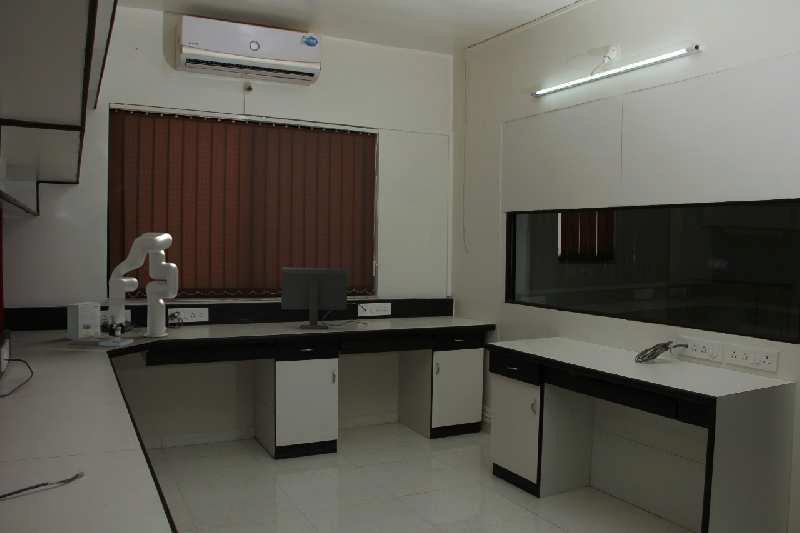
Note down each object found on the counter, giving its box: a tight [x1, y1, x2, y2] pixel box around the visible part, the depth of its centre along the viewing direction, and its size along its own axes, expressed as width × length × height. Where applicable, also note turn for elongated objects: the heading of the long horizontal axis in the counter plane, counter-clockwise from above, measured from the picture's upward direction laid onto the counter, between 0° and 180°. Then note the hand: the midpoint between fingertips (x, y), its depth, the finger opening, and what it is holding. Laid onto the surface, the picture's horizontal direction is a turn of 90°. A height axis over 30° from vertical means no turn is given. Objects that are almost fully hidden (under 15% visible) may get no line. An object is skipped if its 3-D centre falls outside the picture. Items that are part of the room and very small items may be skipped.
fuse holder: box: [70, 334, 113, 346], centre depth 326 cm, size 16×15×4 cm
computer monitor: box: [280, 266, 349, 330], centre depth 417 cm, size 44×16×40 cm, turn 94°
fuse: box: [83, 325, 91, 339], centre depth 326 cm, size 4×4×9 cm
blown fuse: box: [112, 326, 122, 343], centre depth 323 cm, size 4×4×9 cm
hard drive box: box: [67, 301, 101, 340], centre depth 341 cm, size 16×8×20 cm, turn 160°
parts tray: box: [98, 338, 134, 347], centre depth 323 cm, size 14×11×2 cm
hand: (116, 334), depth 323 cm, fingers open, 9 cm apart
